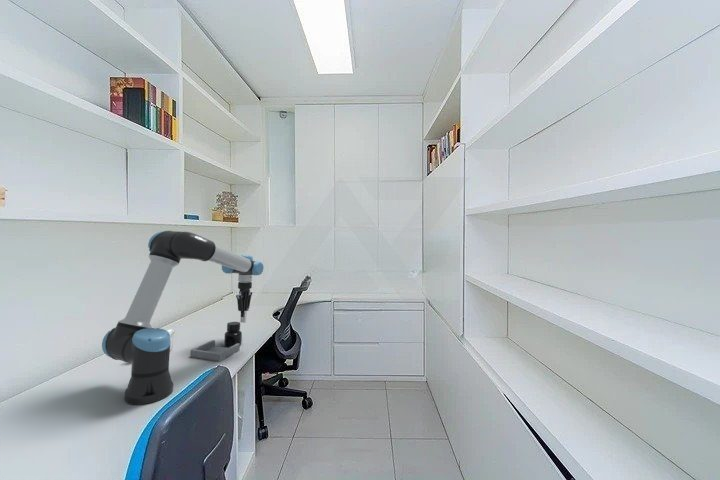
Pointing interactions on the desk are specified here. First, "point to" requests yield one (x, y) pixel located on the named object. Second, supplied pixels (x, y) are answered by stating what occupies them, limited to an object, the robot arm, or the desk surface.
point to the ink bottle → (233, 334)
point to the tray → (213, 351)
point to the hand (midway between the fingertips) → (243, 322)
